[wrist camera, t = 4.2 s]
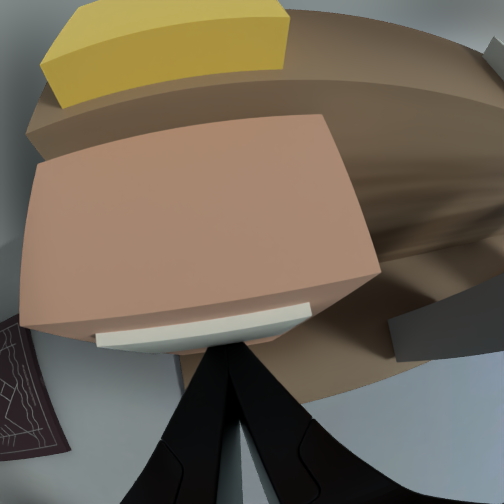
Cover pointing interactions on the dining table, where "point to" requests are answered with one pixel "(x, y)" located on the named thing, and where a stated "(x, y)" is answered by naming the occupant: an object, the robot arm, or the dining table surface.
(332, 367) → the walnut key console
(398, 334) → the middle slate key
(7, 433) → the chocolate bar
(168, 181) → the terracotta key
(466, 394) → the dining table surface
